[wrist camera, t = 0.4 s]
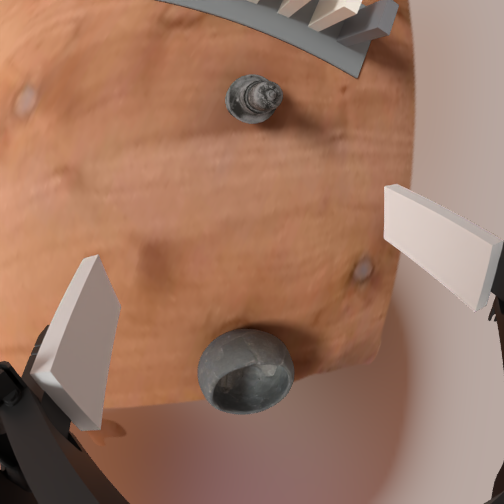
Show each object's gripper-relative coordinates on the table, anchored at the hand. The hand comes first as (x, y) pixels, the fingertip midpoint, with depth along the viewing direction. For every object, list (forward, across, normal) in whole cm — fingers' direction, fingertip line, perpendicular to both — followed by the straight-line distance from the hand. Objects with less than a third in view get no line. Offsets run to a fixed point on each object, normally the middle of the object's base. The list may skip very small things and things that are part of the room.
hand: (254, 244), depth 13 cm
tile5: (+27, +18, +17) cm, 36 cm away
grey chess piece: (+27, +6, +6) cm, 28 cm away
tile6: (+27, +22, +15) cm, 37 cm away
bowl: (+27, -2, -32) cm, 42 cm away
